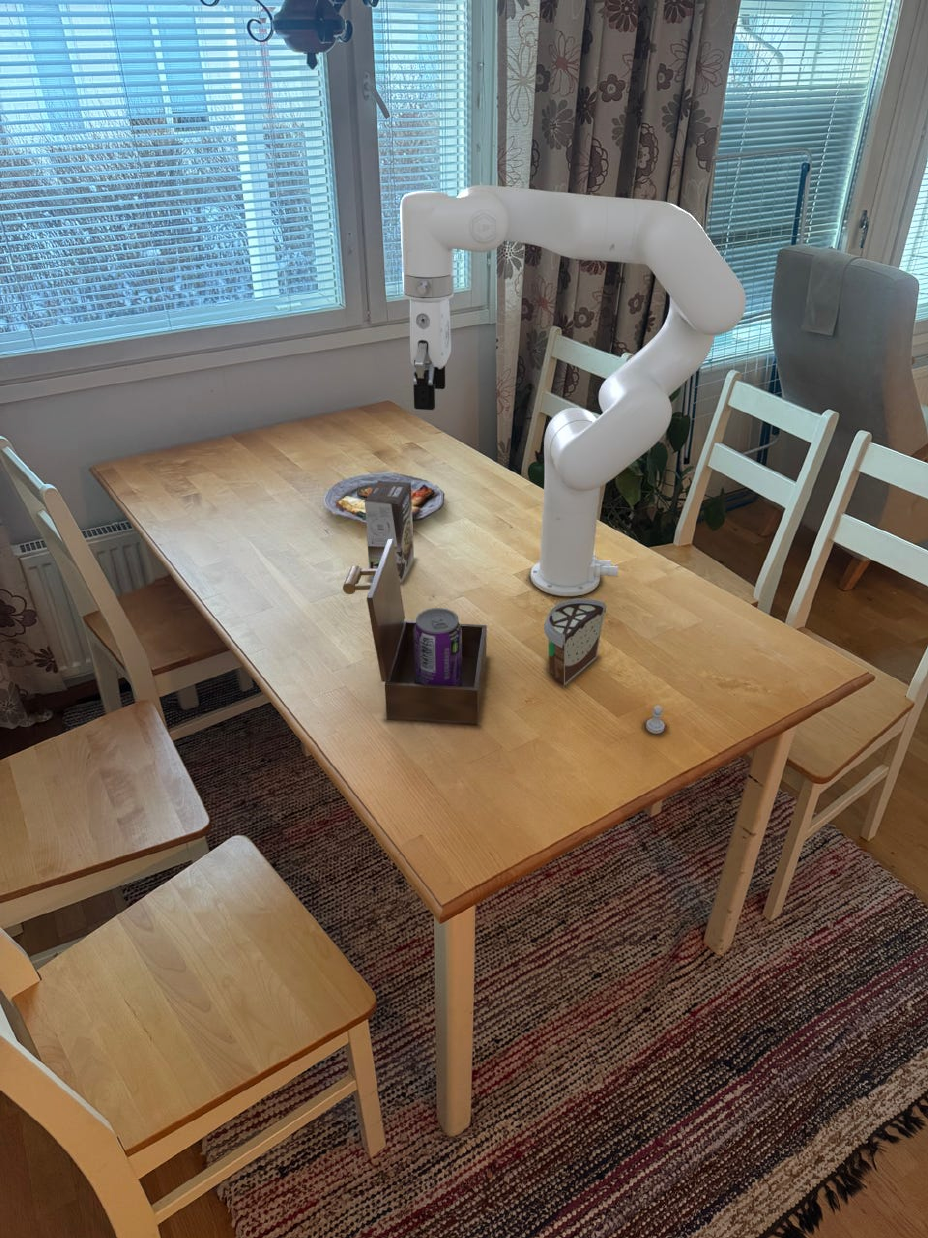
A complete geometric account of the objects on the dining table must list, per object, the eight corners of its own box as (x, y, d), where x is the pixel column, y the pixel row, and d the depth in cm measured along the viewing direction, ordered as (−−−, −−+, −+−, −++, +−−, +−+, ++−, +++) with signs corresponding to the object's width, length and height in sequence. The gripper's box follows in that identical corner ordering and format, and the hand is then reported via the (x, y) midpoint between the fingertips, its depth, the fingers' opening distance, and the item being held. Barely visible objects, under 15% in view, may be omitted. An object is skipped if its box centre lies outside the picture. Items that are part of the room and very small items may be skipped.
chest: (486, 659, 136) (486, 624, 132) (477, 726, 123) (477, 690, 119) (404, 654, 137) (402, 620, 133) (386, 720, 124) (384, 684, 120)
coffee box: (403, 584, 155) (399, 504, 146) (368, 580, 156) (363, 500, 147) (415, 559, 162) (412, 481, 153) (382, 556, 163) (377, 478, 154)
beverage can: (469, 693, 128) (469, 627, 121) (424, 704, 126) (422, 638, 119) (452, 666, 133) (451, 602, 126) (409, 676, 131) (406, 612, 124)
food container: (569, 639, 140) (573, 587, 135) (601, 653, 137) (607, 601, 131) (525, 675, 132) (528, 621, 127) (558, 690, 129) (562, 636, 124)
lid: (393, 538, 125) (356, 539, 126) (372, 597, 112) (330, 598, 113) (405, 617, 133) (370, 618, 134) (386, 681, 120) (348, 682, 120)
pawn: (656, 720, 124) (659, 698, 121) (667, 730, 122) (671, 709, 119) (642, 725, 123) (645, 704, 120) (653, 736, 121) (657, 714, 118)
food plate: (463, 496, 185) (463, 481, 183) (408, 543, 167) (407, 527, 165) (366, 474, 194) (365, 459, 192) (304, 515, 177) (302, 500, 175)
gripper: (443, 300, 118) (444, 419, 128) (461, 273, 132) (461, 381, 142) (390, 298, 119) (395, 416, 129) (414, 271, 133) (417, 379, 143)
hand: (430, 398), depth 135 cm, fingers open, 9 cm apart
